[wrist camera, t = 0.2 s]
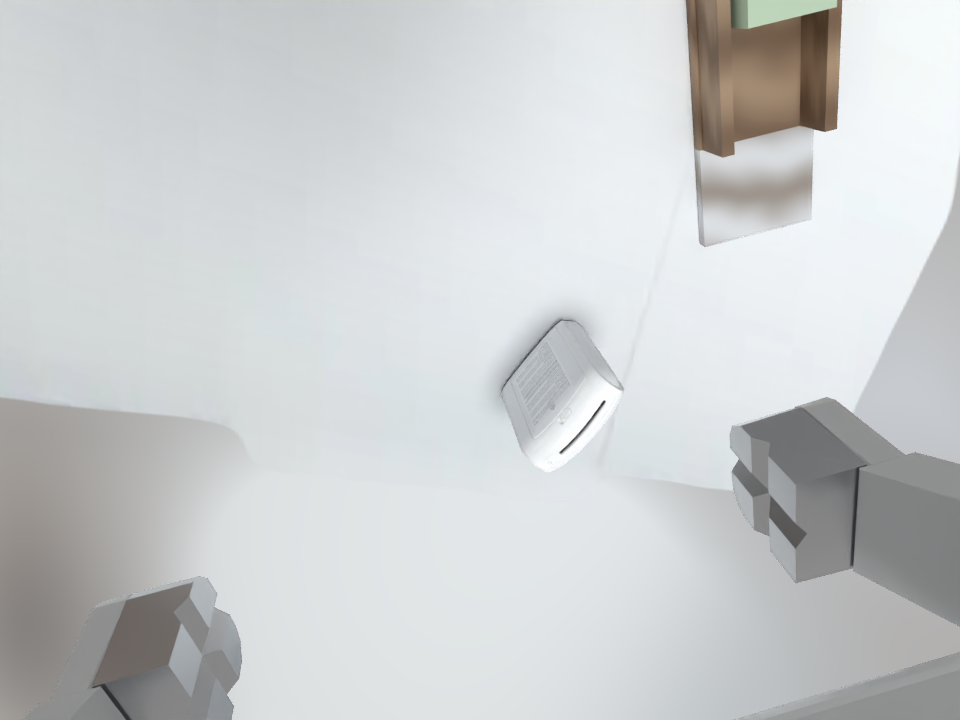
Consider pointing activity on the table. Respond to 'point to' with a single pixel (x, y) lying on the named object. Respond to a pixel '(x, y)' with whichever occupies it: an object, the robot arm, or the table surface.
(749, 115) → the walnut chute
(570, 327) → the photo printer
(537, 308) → the table surface
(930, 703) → the robot arm
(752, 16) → the sage block
